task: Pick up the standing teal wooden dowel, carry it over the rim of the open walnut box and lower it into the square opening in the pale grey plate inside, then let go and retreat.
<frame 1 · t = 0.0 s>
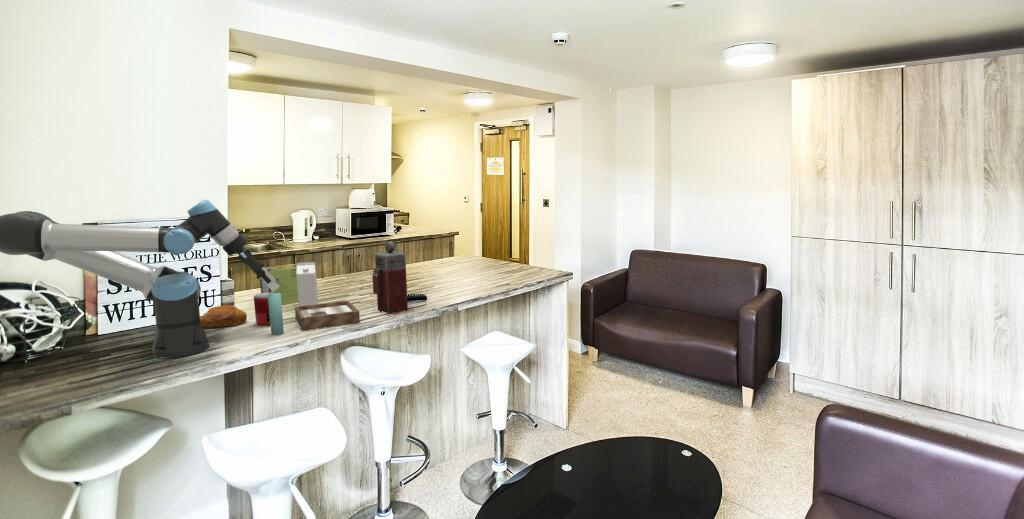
hand: (274, 285, 188), 15 cm above the countertop, tool tilted 35°, fingers open, 13 cm apart
croissant: (224, 324, 197), on the countertop
milk carton: (309, 307, 220), on the countertop
protein box: (284, 302, 231), on the countertop
canned food: (267, 324, 196), on the countertop
peg: (277, 333, 183), on the countertop
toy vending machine: (390, 310, 213), on the countertop
box: (327, 320, 199), on the countertop
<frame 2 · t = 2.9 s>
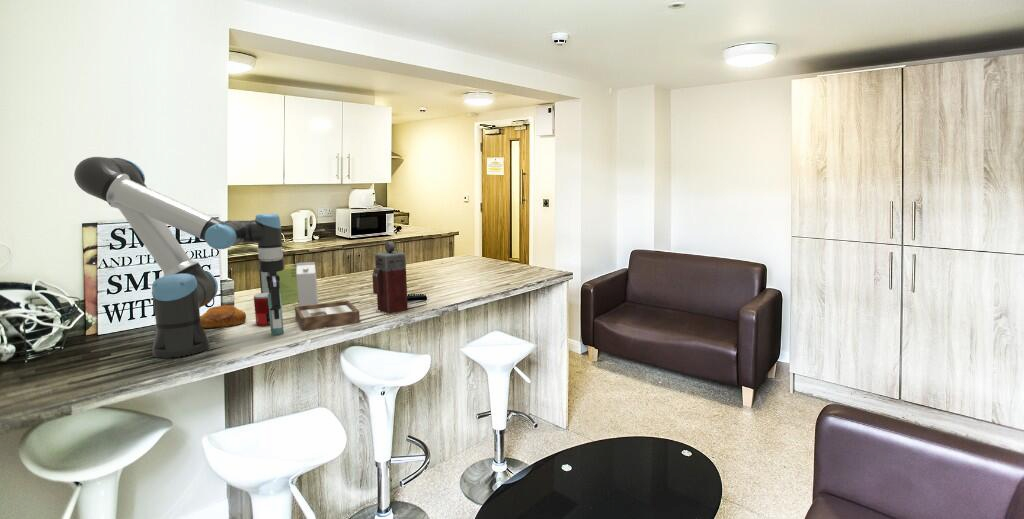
hand: (276, 326, 182), 3 cm above the countertop, tool pointing down, fingers closed on peg, 4 cm apart
peg: (277, 333, 183), on the countertop, touching gripper
everything else where it was.
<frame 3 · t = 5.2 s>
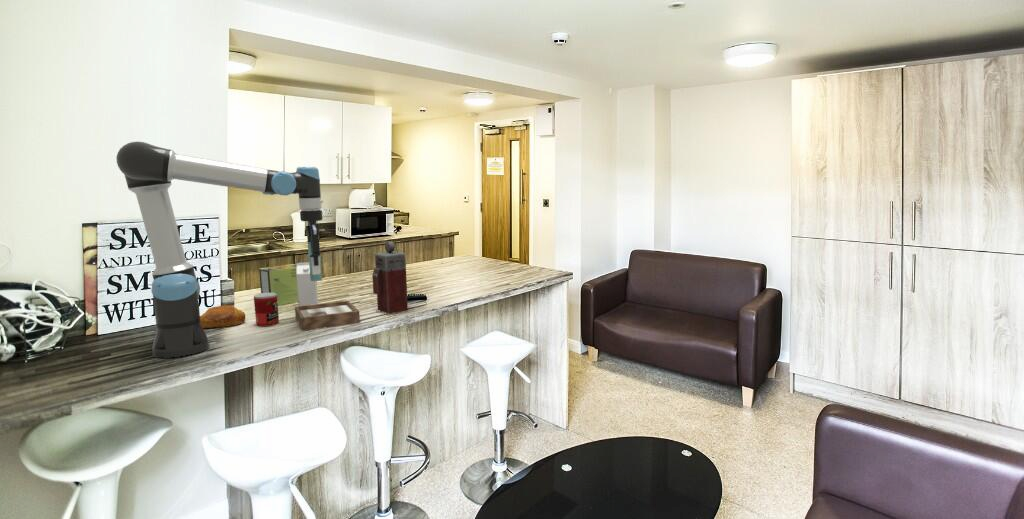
hand: (315, 273, 195), 18 cm above the countertop, tool pointing down, fingers closed on peg, 4 cm apart
peg: (316, 279, 195), point 16 cm above the countertop, touching gripper
everything else where it was.
when the fingers open (5 cm above the countertop, at t = 7.3 s): peg stays where it is, resting in box.
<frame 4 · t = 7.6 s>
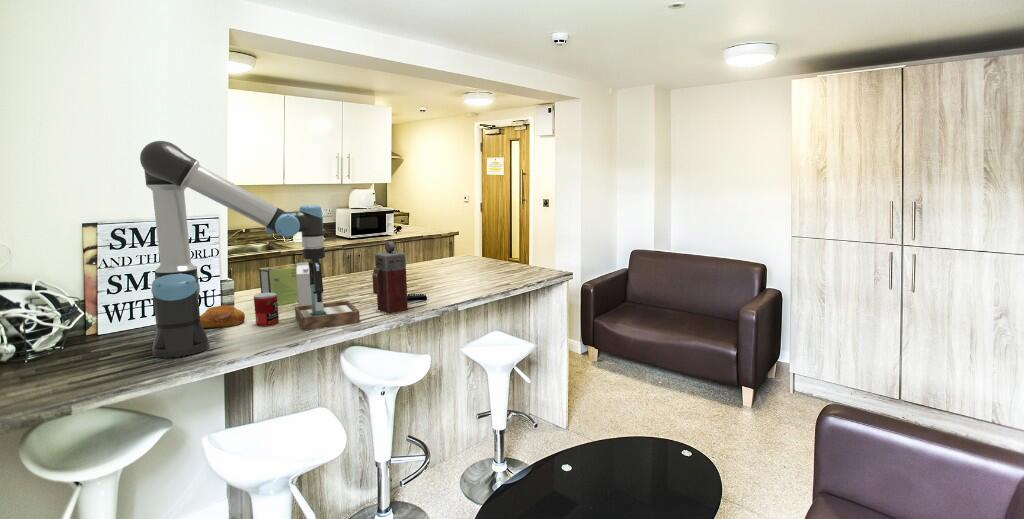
hand: (317, 307, 197), 5 cm above the countertop, tool pointing down, fingers open, 8 cm apart
peg: (318, 321, 198), resting in box
everything else where it was.
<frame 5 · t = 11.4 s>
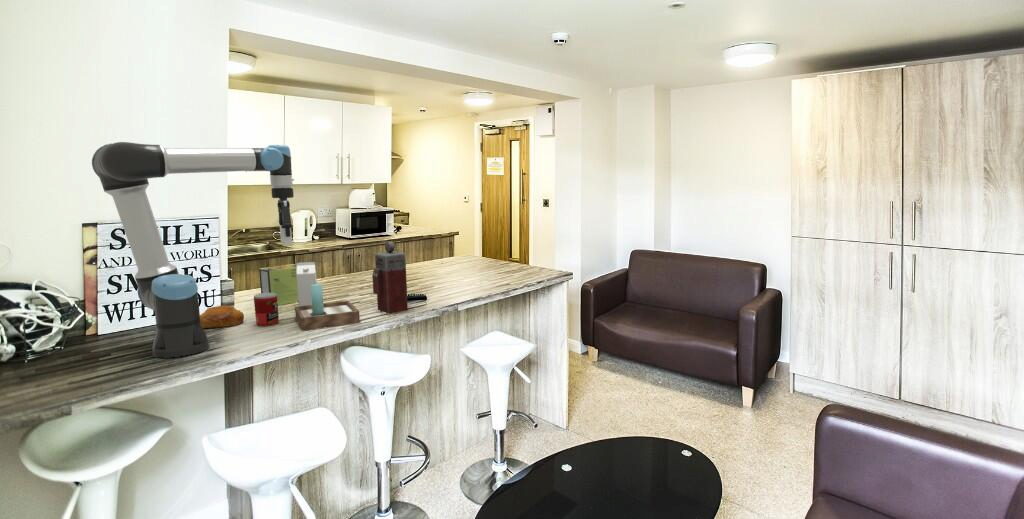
hand: (286, 243, 200), 29 cm above the countertop, tool pointing down, fingers open, 13 cm apart
nothing on the countertop moved.
at the end: peg 0.0 cm from the target spot on the box, point 0.0 cm above the box's base; peg tilted 0°; the gripper is holding nothing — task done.
